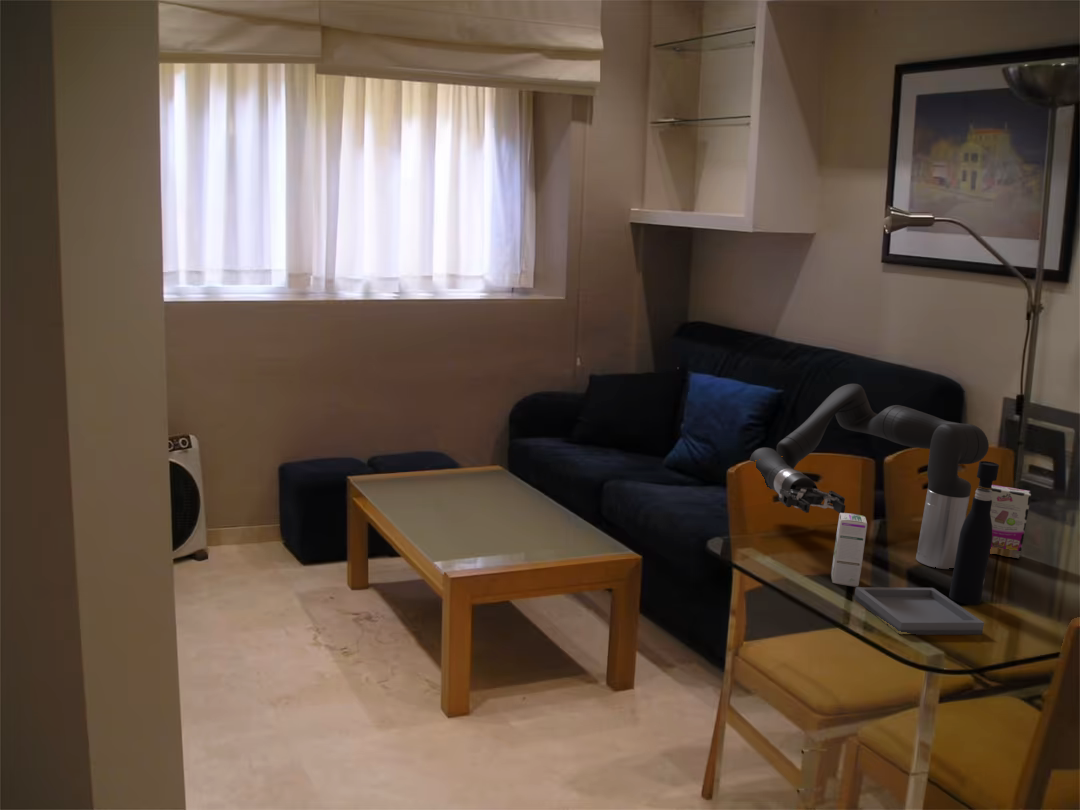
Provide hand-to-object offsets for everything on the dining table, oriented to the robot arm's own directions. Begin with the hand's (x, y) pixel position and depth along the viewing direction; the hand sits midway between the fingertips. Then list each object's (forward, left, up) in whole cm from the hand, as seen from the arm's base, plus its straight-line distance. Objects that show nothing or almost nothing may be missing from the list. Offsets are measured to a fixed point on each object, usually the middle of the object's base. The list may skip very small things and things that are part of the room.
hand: (825, 509), depth 246 cm
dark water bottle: (-24, +22, -13) cm, 34 cm away
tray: (-7, +31, -12) cm, 34 cm away
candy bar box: (-51, -8, -13) cm, 54 cm away
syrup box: (-1, +12, -13) cm, 17 cm away
